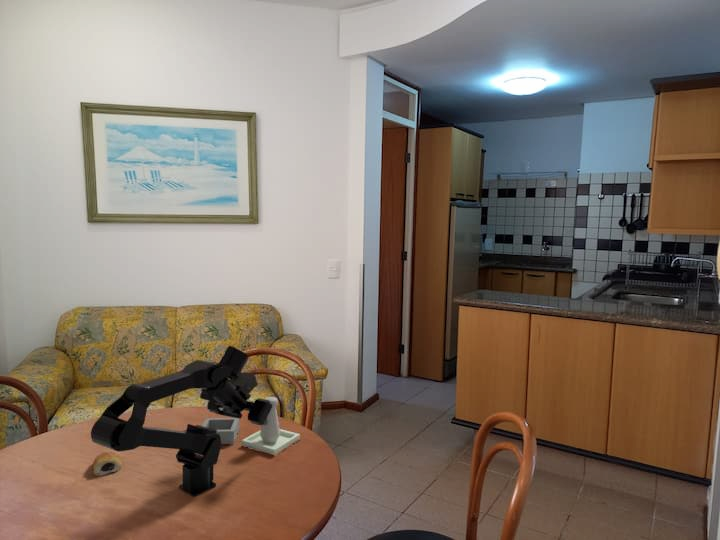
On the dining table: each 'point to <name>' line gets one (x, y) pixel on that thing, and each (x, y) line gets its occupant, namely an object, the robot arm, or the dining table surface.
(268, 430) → the salt shaker
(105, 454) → the pastry
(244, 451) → the dining table surface
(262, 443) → the tray
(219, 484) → the dining table surface
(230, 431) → the holder
